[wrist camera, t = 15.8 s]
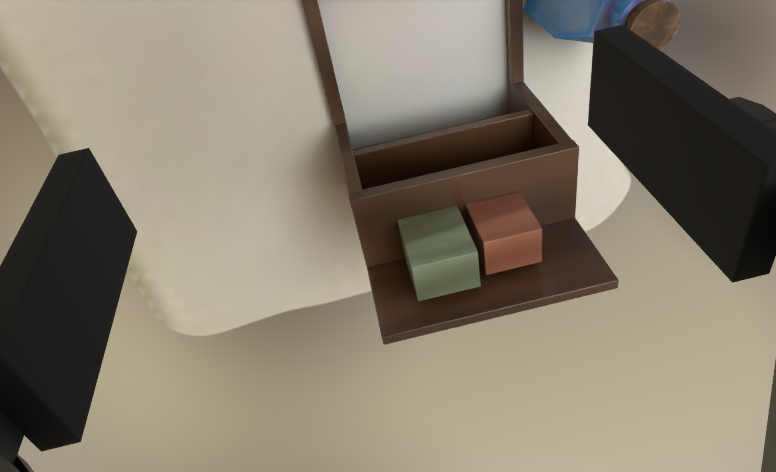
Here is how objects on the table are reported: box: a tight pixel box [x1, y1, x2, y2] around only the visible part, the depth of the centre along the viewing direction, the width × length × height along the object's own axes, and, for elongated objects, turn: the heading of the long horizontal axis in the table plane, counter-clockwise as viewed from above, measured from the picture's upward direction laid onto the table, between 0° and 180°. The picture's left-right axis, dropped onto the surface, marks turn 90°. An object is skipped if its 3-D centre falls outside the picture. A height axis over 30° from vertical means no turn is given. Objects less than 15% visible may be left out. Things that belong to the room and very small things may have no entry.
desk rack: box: [303, 0, 618, 344], centre depth 40 cm, size 19×16×19 cm
